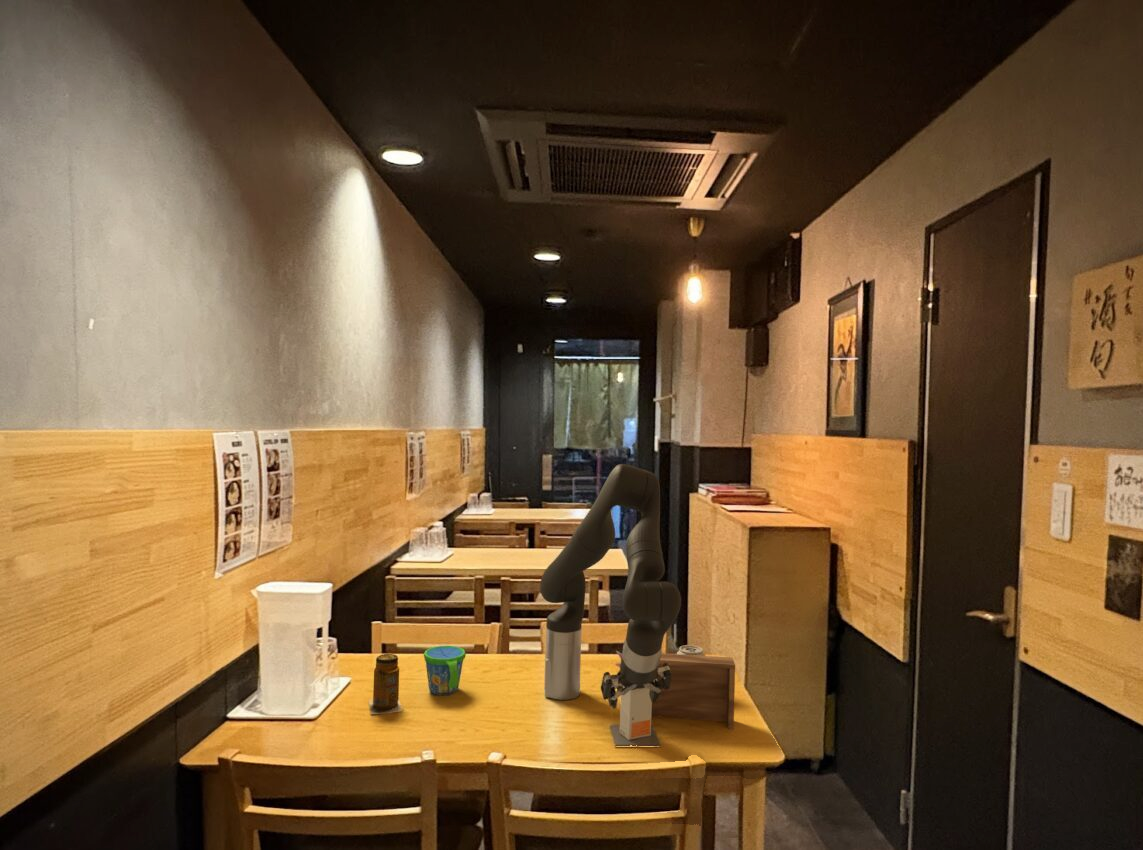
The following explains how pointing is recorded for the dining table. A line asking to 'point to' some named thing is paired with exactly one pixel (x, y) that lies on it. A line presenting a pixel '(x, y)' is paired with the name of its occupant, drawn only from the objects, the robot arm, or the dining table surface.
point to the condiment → (386, 685)
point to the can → (690, 650)
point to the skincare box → (636, 713)
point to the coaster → (623, 741)
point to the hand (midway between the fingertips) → (632, 701)
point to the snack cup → (444, 668)
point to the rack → (698, 688)
